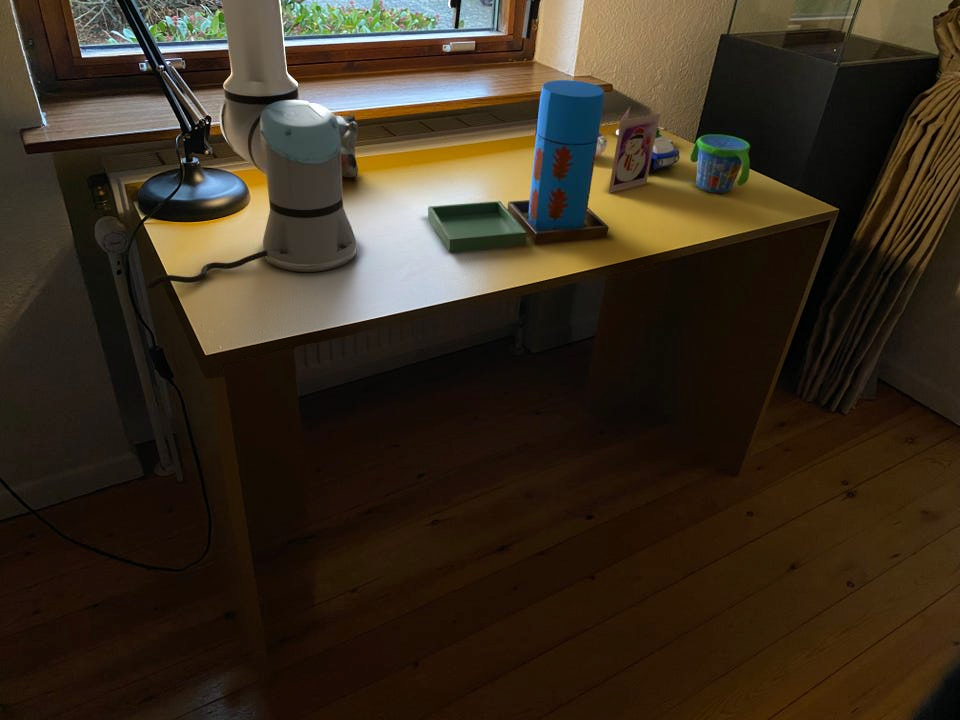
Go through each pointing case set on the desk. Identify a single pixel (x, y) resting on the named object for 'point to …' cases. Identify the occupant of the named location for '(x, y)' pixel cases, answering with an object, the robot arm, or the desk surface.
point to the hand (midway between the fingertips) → (490, 33)
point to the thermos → (564, 154)
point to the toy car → (663, 152)
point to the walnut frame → (564, 235)
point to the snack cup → (720, 162)
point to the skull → (600, 146)
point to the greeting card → (633, 151)
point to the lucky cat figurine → (348, 145)
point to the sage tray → (476, 226)
